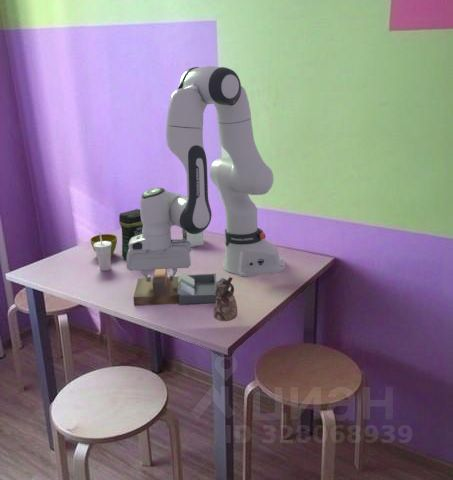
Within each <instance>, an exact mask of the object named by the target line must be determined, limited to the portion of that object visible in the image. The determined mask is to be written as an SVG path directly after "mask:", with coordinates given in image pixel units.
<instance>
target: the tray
mask: <svg viewBox="0 0 453 480" xmlns="http://www.w3.org/2000/svg"><path fill="white" fill-rule="evenodd" d="M187 275H188V276H190V277H191V278H193V279H195V280H194V287H193V289H194V295H182V296H181V295H180V296H179V304H178V306H188V305H191V306H192V305H194V306H195V305H207V304H208V305H210V304H214V305H215V299H216V296H215V295H214V293H215V292H216V288H217V273H203V274H202V273H199V274H187Z"/></svg>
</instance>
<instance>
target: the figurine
mask: <svg viewBox="0 0 453 480" xmlns="http://www.w3.org/2000/svg"><path fill="white" fill-rule="evenodd" d="M232 280H233V277H231V276H229V277H228V279H227V278H225V277H223V278H220V279H219V280H218V281H216V283H217V288H216V292H215V293H214V295H215V296H216V299H215V303H214V307H213V318H214V319H215V320H216V321H221V322H229V321H233V320H235V318H237V315H238V305H237V300H236V297H235V295H234V293H235V287H234V285H233V284H232V283H231V282H232ZM229 288H230V290H229Z"/></svg>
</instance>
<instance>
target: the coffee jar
mask: <svg viewBox="0 0 453 480" xmlns="http://www.w3.org/2000/svg"><path fill="white" fill-rule="evenodd" d="M118 217H119V219H118V220H119V221H118V222H119V225H120V228H121V240H122V241H121V255H122V258H123V259H124V260H126V259H127V253H128V250H129V241H130V239H131V238H132V237H134V236H137V235H140V234H142V229H143V224H142V221H141V213H140V208H135V209H132V210H128V211H125V212H120V213H119V215H118Z"/></svg>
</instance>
